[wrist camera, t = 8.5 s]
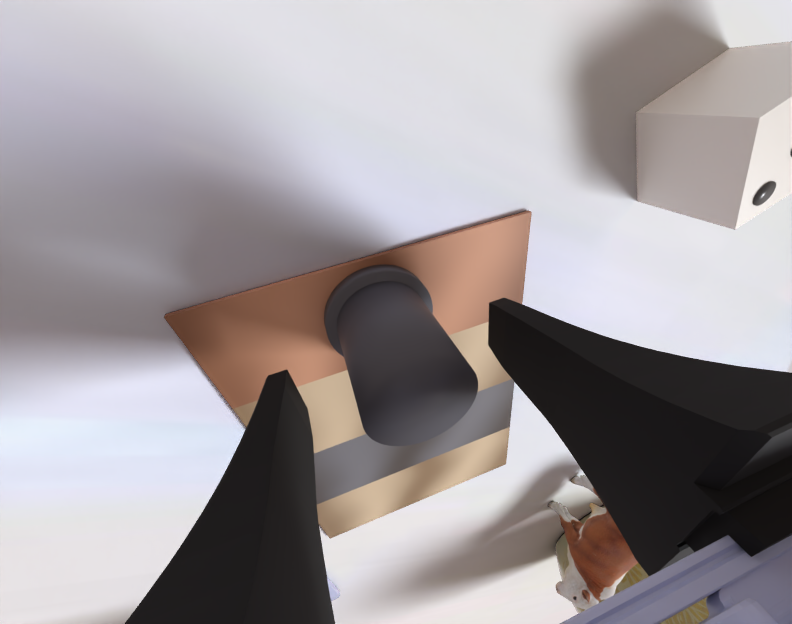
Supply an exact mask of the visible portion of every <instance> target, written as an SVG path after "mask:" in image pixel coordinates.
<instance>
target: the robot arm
mask: <svg viewBox="0 0 792 624" xmlns="http://www.w3.org/2000/svg"><path fill="white" fill-rule="evenodd" d="M488 346H489V347H490V349H491V350H492V352H493V354H494V355H495V357H496V358H497V360H498V361H499V363H500V364H501V366H502V367H503V369H504V370H505V371H506V372H507V373H508V375H509V376H510V377H511V378H512V379H513V380H514V382H515V383H516V384H517V385H518V386H519V387H520V389H521V390H522V391H523V392H524V393H525V394H526V396H527V397H528V398H529V399H530V400H531V401H532V403H533V404H534V405H535V406H536V407H537V408H538V410H539V411H540V412H541V413H542V414H543V415H544V417H545V418H546V419H547V420H548V422H549V423H550V424H551V425H552V427H553V428H554V430H555V431H556V432H557V434H558V435H559V437H560V438H561V440H562V441H563V442H564V444H565V445H566V447H567V448H568V449H569V451H570V452H571V454H572V455H573V457H574V458H575V460H576V461H577V463H578V464H579V466H580V467H581V469H582V470H583V472H584V473H585V475H586V476H587V478H588V480H589V481H590V483H591V484H592V486H593V488H594V489H595V491H596V492H597V494H598V496H599V497H600V499H601V500H602V502H603V504H604V505H605V507H606V508H607V510H608V512H609V514H610V515H611V517H612V519H613V520H614V522H615V524H616V526H617V527H618V529H619V531H620V532H621V534H622V536H623V537H624V539H625V541H626V543H627V544H628V546H629V548H630V550H631V552H632V554H633V555H634V557H635V559H636V560H637V562H638V563H639V564H640V565H641V567H642V568H643V569H644V571H645V572H646V573H647V574H648V576H649V577H647V578H645V579H643V580H642V581H640V582H638V583H636V584H634V585H632V586H630V587H628V588H626V589H624V590H623V591H621V592H619V593H617V594H615V595H613V596H611V597H609V598H607V599H606V600H604V601H602V602H600V603H598V604H596V605H594V606H592V607H590V608H589V609H587V610H585V611H583V612H581V613H579V614H577V615H575V616H573V617H571V618H570V619H568V620H566V621H564V622H562V623H560V624H660V623H661V622H663V621H665V620H667V619H669V618H670V617H672V616H674V615H676V614H678V613H679V612H681V611H683V610H685V609H686V608H688V607H690V606H692V605H694V604H695V603H697V602H699V601H701V600H703V599H704V598H706V597H707V599H706V606H707V609H708V611H709V616H708V618H707V619H705V620H703V621H701V622H700V623H698V624H792V373H789V372H781V371H773V370H765V369H756V368H748V367H741V366H734V365H728V364H722V363H716V362H710V361H704V360H699V359H693V358H688V357H683V356H679V355H674V354H670V353H665V352H661V351H656V350H652V349H648V348H644V347H640V346H636V345H633V344H629V343H626V342H622V341H619V340H615V339H612V338H609V337H606V336H602V335H599V334H597V333H594V332H591V331H588V330H585V329H582V328H579V327H577V326H574V325H571V324H569V323H566V322H564V321H561V320H559V319H556V318H554V317H551V316H549V315H546V314H544V313H541V312H539V311H537V310H534V309H532V308H530V307H527V306H525V305H522V304H520V303H517V302H515V301H512V300H510V299H507V298H501V299H498V300H495V301H492V302H489V324H488ZM339 596H340V591H339V589H338V588H337V587H336V586H335V585H334V584H333V583H332V582H331V581H330V580H329V579H328V578H327V575H326V569H325V563H324V556H323V550H322V543H321V537H320V530H319V523H318V513H317V500H316V482H315V464H314V447H313V435H312V429H311V424H310V418H309V413H308V408H307V406H306V404H305V402H304V401H303V399H302V397H301V395H300V393H299V391H298V389H297V387H296V385H295V383H294V381H293V379H292V377H291V376H290V374H289V372H288V370H287V369H286V370H283V371H280V372H277V373H274V374H271V375H268V377H267V378H266V380H265V383H264V386H263V388H262V391H261V394H260V396H259V399H258V401H257V404H256V406H255V409H254V411H253V414H252V416H251V418H250V421H249V423H248V425H247V428H246V430H245V432H244V434H243V437H242V439H241V441H240V443H239V445H238V447H237V449H236V451H235V453H234V455H233V457H232V459H231V461H230V463H229V465H228V467H227V469H226V471H225V473H224V475H223V477H222V479H221V481H220V483H219V484H218V486H217V488H216V490H215V492H214V493H213V495H212V497H211V498H210V500H209V502H208V504H207V505H206V507H205V509H204V510H203V512H202V514H201V515H200V517H199V518H198V520H197V521H196V523H195V525H194V526H193V528H192V529H191V531H190V532H189V534H188V536H187V537H186V539H185V540H184V542H183V543H182V545H181V546H180V548H179V549H178V551H177V552H176V554H175V555H174V557H173V558H172V560H171V561H170V563H169V564H168V565H167V567H166V568H165V570H164V571H163V572H162V574H161V575H160V577H159V578H158V579H157V581H156V582H155V583H154V585H153V586H152V588H151V589H150V590H149V592H148V593H147V595H146V596H145V597H144V599H143V600H142V601H141V603H140V604H139V606H138V607H137V608H136V610H135V611H134V612H133V614H132V615H131V616H130V618H129V619H128V620H127V621H126V623H125V624H335V621H334V615H333V610H332V604H331V601H333V600H335V599H337V598H338V597H339Z"/></svg>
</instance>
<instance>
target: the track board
mask: <svg viewBox="0 0 792 624" xmlns="http://www.w3.org/2000/svg"><path fill="white" fill-rule="evenodd" d="M530 222H531V211H525V212H521V213H518V214H514V215H511V216H507V217H504V218H500V219H497V220H493V221H490V222H486V223H483V224H479V225H476V226H472V227H469V228H465V229H462V230H458V231H455V232H451V233H448V234H444V235H441V236H437V237H434V238H430V239H427V240H423V241H420V242H416V243H413V244H409V245H406V246H402V247H399V248H395V249H392V250H388V251H385V252H381V253H378V254H374V255H371V256H367V257H364V258H360V259H357V260H353V261H350V262H346V263H343V264H339V265H336V266H332V267H329V268H325V269H322V270H318V271H315V272H311V273H308V274H304V275H301V276H297V277H294V278H290V279H287V280H283V281H280V282H276V283H273V284H269V285H266V286H262V287H259V288H255V289H252V290H248V291H245V292H241V293H238V294H234V295H231V296H227V297H224V298H220V299H217V300H213V301H210V302H206V303H203V304H199V305H196V306H192V307H189V308H185V309H182V310H178V311H175V312H171V313H168V314H165V316H164V318H165V319H166V321H167V322H168V323H169V325H170V326H171V327H172V329H173V330H174V331H175V333H176V334H177V335H178V337H179V338H180V339H181V341H182V342H183V343H184V345H185V346H186V347H187V349H188V350H189V351H190V353H191V354H192V355H193V357H194V358H195V359H196V361H197V362H198V363H199V365H200V366H201V367H202V369H203V370H204V371H205V373H206V374H207V375H208V377H209V378H210V379H211V381H212V382H213V383H214V385H215V386H216V387H217V389H218V390H219V391H220V393H221V394H222V395H223V397H224V398H225V399H226V401H227V402H228V403H229V405H230V406H231V407H232V409H233V410H234V411H235V413H236V414H237V415H238V417H239V418H240V419H241V421H242V422H243V423H244V425H245V426H246V427H247V425H248V423H249V421H250V418H251V416H252V414H253V411H254V409H255V406H256V404H257V401H258V399H259V396H260V394H261V391H262V388H263V386H264V383H265V380H266V378H267V377H268V375H271V374H274V373H277V372H280V371H283V370H286V369H287V370H288V372H289V374H290V376H291V377H292V379H293V381H294V383H295V385H296V387H297V389H298V391H299V393H300V395H301V397H302V399H303V401H304V402H305V404H306V406H307V408H308V413H309V418H310V424H311V429H312V435H313V447H314V464H315V482H316V500H317V513H318V523H319V525H320V526H321V527H322V529H323V530H324V531H325V533H326V534H327V535H328V537H329V538H332V537H335V536H337V535H339V534H342V533H344V532H347V531H349V530H351V529H354V528H356V527H358V526H361V525H363V524H365V523H368V522H370V521H373V520H375V519H377V518H380V517H382V516H384V515H387V514H389V513H391V512H394V511H396V510H399V509H401V508H403V507H406V506H408V505H410V504H413V503H415V502H417V501H420V500H422V499H425V498H427V497H429V496H432V495H434V494H436V493H439V492H441V491H443V490H446V489H448V488H451V487H453V486H455V485H458V484H460V483H462V482H465V481H467V480H469V479H472V478H474V477H477V476H479V475H481V474H484V473H486V472H488V471H491V470H493V469H495V468H498V467H500V466H503V465H505V464H506V458H507V448H508V438H509V428H510V418H511V409H512V399H513V389H514V380H513V379H512V378H511V377H510V376H509V375H508V373H507V372H506V371H505V370H504V369H503V367H502V366H501V364H500V363H499V361H498V360H497V358H496V357H495V355H494V354H493V352H492V350H491V349H490V347H489V346H488V324H489V302H492V301H495V300H498V299H501V298H507V299H510V300H512V301H515V302H517V303H520V304H522V300H523V291H524V281H525V271H526V261H527V251H528V241H529V232H530ZM381 264H386V265H395V266H399V267H402V268H405V269H407V270H409V271H410V272H412V273H413V274H414V275H415V276H417V277H418V278H419V280H420V281H421V282H422V283H423V285H424V286H425V287H426V288H427V290H428V292H429V294H430V296H431V299H432V304H433V315H434V317H435V318H436V319H437V321H438V322H439V324H440V325H441V326H442V328H443V329H444V330H445V332H446V333H447V334H448V336H449V337H450V339H451V340H452V341H453V343H454V344H455V345H456V347H457V348H458V349H459V351H460V352H461V354H462V355H463V356H464V358H465V359H466V360H467V362H468V363H469V365H470V366H471V367H472V369H473V370H474V372H475V373H476V375H477V379H478V391H477V395H476V398H475V400H474V402H473V404H472V406H471V407H470V409H469V410H468V412H467V413H466V414H465V415H464V416H463V417H462V418H461V419H460V420H459V421H458V422H457V423H456V424H455V425H454V426H452V427H451V428H449V429H448V430H447V431H445V432H443V433H442V434H440V435H438V436H436V437H434V438H432V439H429V440H427V441H424V442H421V443H417V444H413V445H408V446H388V445H383V444H380V443H378V442H376V441H374V440H372V439H371V438H370V437H369V436H368V435H367V434H366V433H365V431H364V429H363V426H362V422H361V418H360V415H359V411H358V407H357V403H356V400H355V396H354V392H353V389H352V385H351V381H350V377H349V374H348V370H347V366H346V363H345V359H344V357H343V356H342V355H340V354H339V353H338V352H337V351H336V350H335V349H334V348H333V346H332V345H331V343H330V341H329V339H328V336H327V332H326V328H325V323H324V311H325V306H326V303H327V300H328V298H329V296H330V295H331V293H332V291H333V290H334V289H335V287H336V286H337V285H338V284H339V283H340V282H341V281H342V280H343V279H345V278H346V277H347V276H349V275H350V274H352V273H354V272H356V271H358V270H360V269H362V268H365V267H369V266H373V265H381Z"/></svg>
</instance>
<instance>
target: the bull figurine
mask: <svg viewBox="0 0 792 624" xmlns="http://www.w3.org/2000/svg"><path fill="white" fill-rule="evenodd" d="M571 482H572V483H574V484H577V485H580V486H583V487H586V488H588V489H589V490H591V491H592V492H593V493H595V494H596V495H597V496H598V494H597V492H596V491H595V489H594V488H593V486H592V484H591V483H590V481H589V480H588V478H587V477H586V476H584V475H583V476H580V477H577V476H576V477H574V478H573V479H572V480H571ZM598 497H599V496H598ZM599 498H600V497H599ZM600 500H601V499H600ZM601 501H602V500H601ZM602 503H603V502H602ZM589 506H590V508H591V509H592V513H591V516H590V517H589V518H588V519H587V520H586V522H585V523H584V524H582V523H581V522H580V521H579V520H577V519H576V518H574V517H573V516H571V515H570V514H569V512H568V510H567V508H566V507H565V506H562V504H561V503H558V502H551V503H549V504H548V507H550V508H552V509H554V510H555V511H556V512H557V513H558V514H559V516H560V520H561V525H562V527H563V529H564V531H565V537H566V540H567V543H568V547H567V550H568V553H567V557H568V560H569V566H568V567H567V568H566V570H565V575H564V579H563V581H560V582H558V583H557V584H556V590H557V593H558V594H560V595H562V596H564V597H565V598H567V599H568V600H569V601H571V602H572V603H573V604H574V605H576V606H577V607H579V608H581V609H585V610H587V609H589V608H590V607H592V606H594V605H596V604H598V603H599V601H600V600H603V599H607V598H609V597H611V596H613V595H614V593H615V590H616V586H617V585H618V584H619V583H620V582H621V580H622V579H623V577H624V576H625V574H626V573H627V572H628V571H629V570H630V569H631V568H632V567H633V566H635V565H636V564H638V562H637V560H636V559H635V557H634V555H633V554H632V552H631V550H630V548H629V546H628V544H627V543H626V541H625V539H624V537H623V536H622V534H621V532H620V531H619V529H618V527H617V526H616V524H615V522H614V520H613V519H612V517H611V515H610V514H609V512H608V510H607V508H606V507H605V508H602V507H599V506H597V505H596V504H594V503H590V505H589ZM604 506H605V505H604Z"/></svg>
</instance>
